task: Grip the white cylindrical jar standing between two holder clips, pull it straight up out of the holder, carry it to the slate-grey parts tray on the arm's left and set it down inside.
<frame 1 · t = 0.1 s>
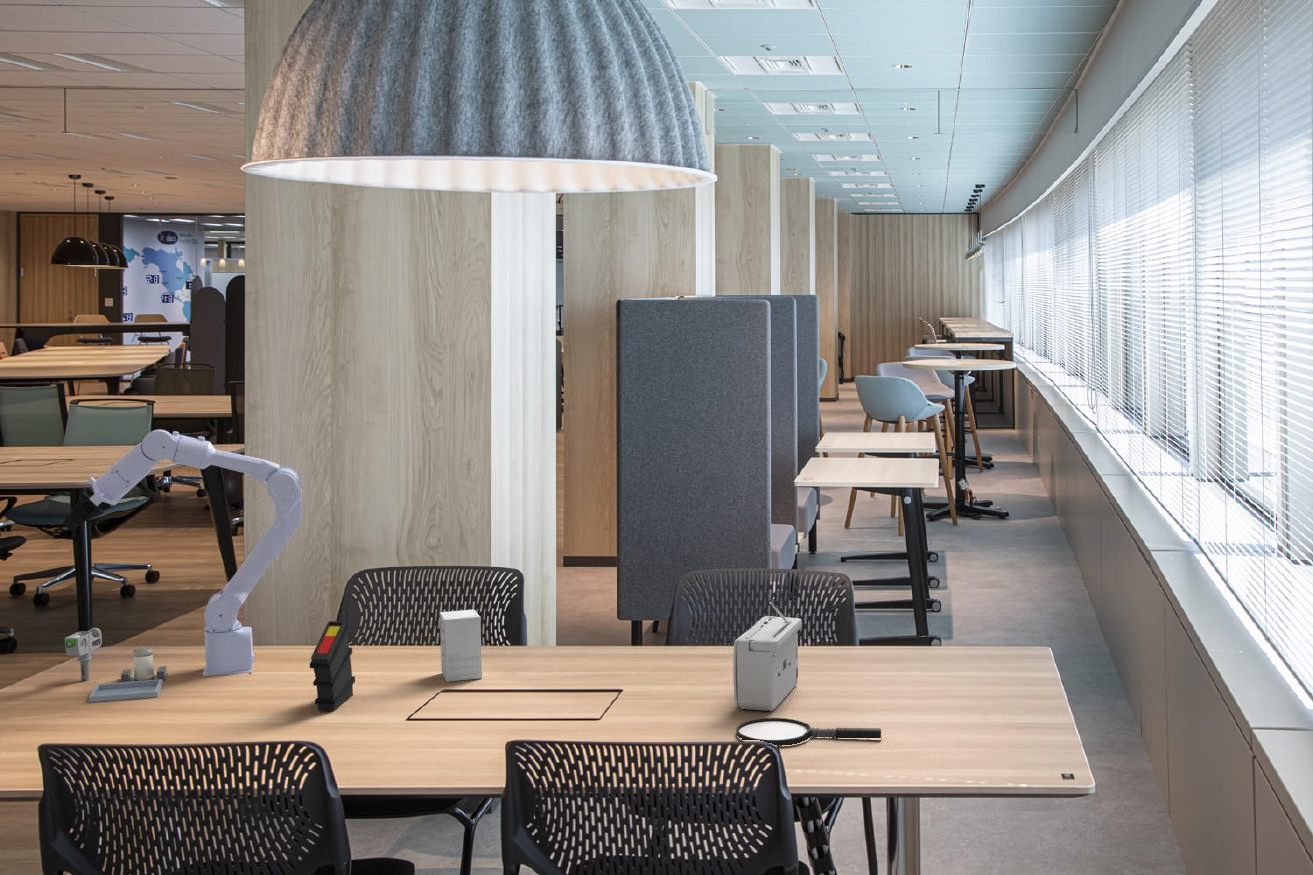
hand: (70, 523, 252), 32 cm above the table, tool tilted 50°, fingers open, 7 cm apart
magnifying glass: (808, 740, 214), on the table
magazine: (333, 706, 237), on the table
stereo radio cassette player: (769, 698, 238), on the table
holder: (144, 681, 255), on the table
tray: (126, 695, 245), on the table
white cylindrical jar: (144, 679, 255), resting on holder
supplement box: (461, 677, 256), on the table
mechanical component: (85, 683, 255), on the table
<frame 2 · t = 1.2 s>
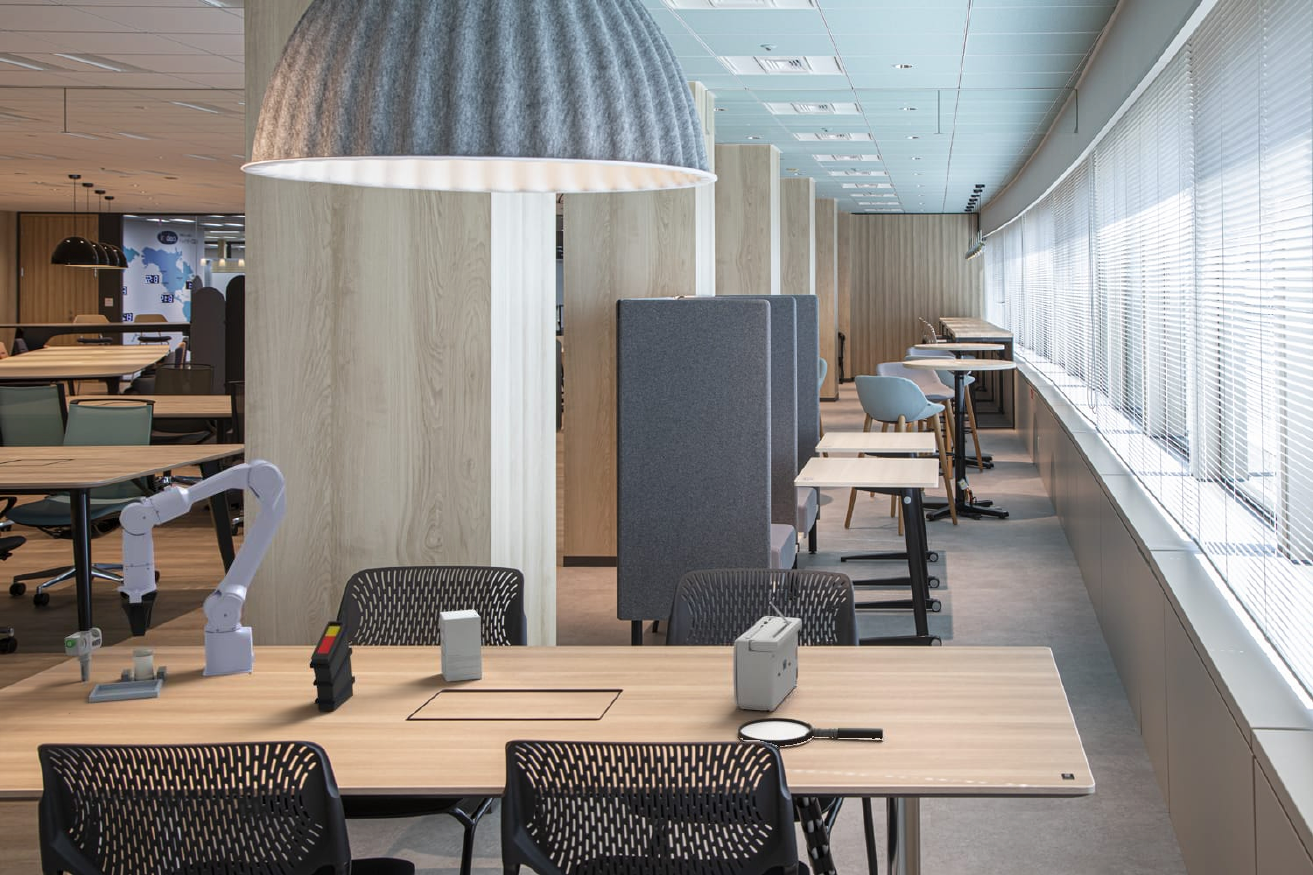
hand: (141, 631, 254), 10 cm above the table, tool pointing down, fingers open, 7 cm apart
nothing on the table moved.
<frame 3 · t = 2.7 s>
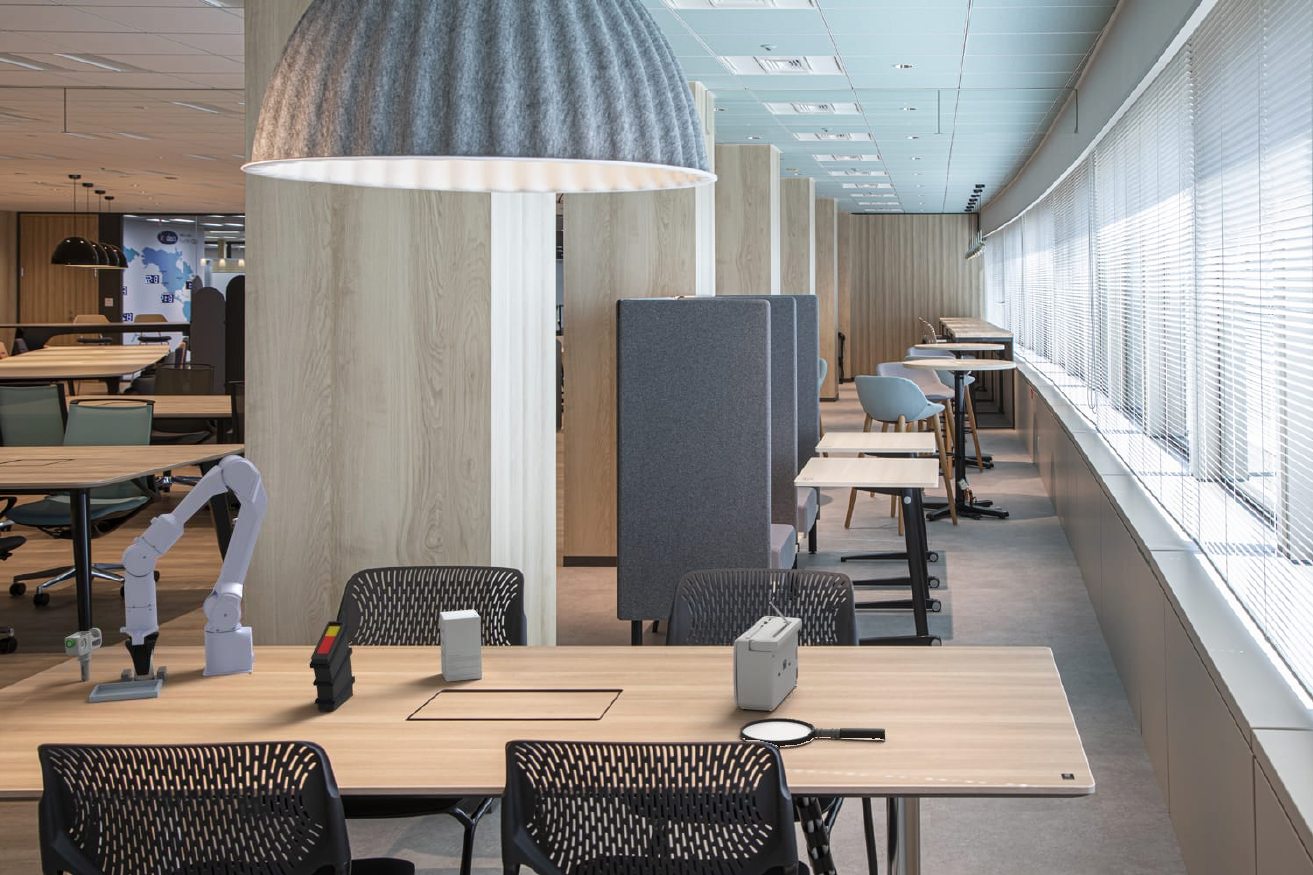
hand: (144, 672, 255), 2 cm above the table, tool pointing down, fingers closed on white cylindrical jar, 4 cm apart
white cylindrical jar: (144, 679, 255), resting on holder, touching gripper
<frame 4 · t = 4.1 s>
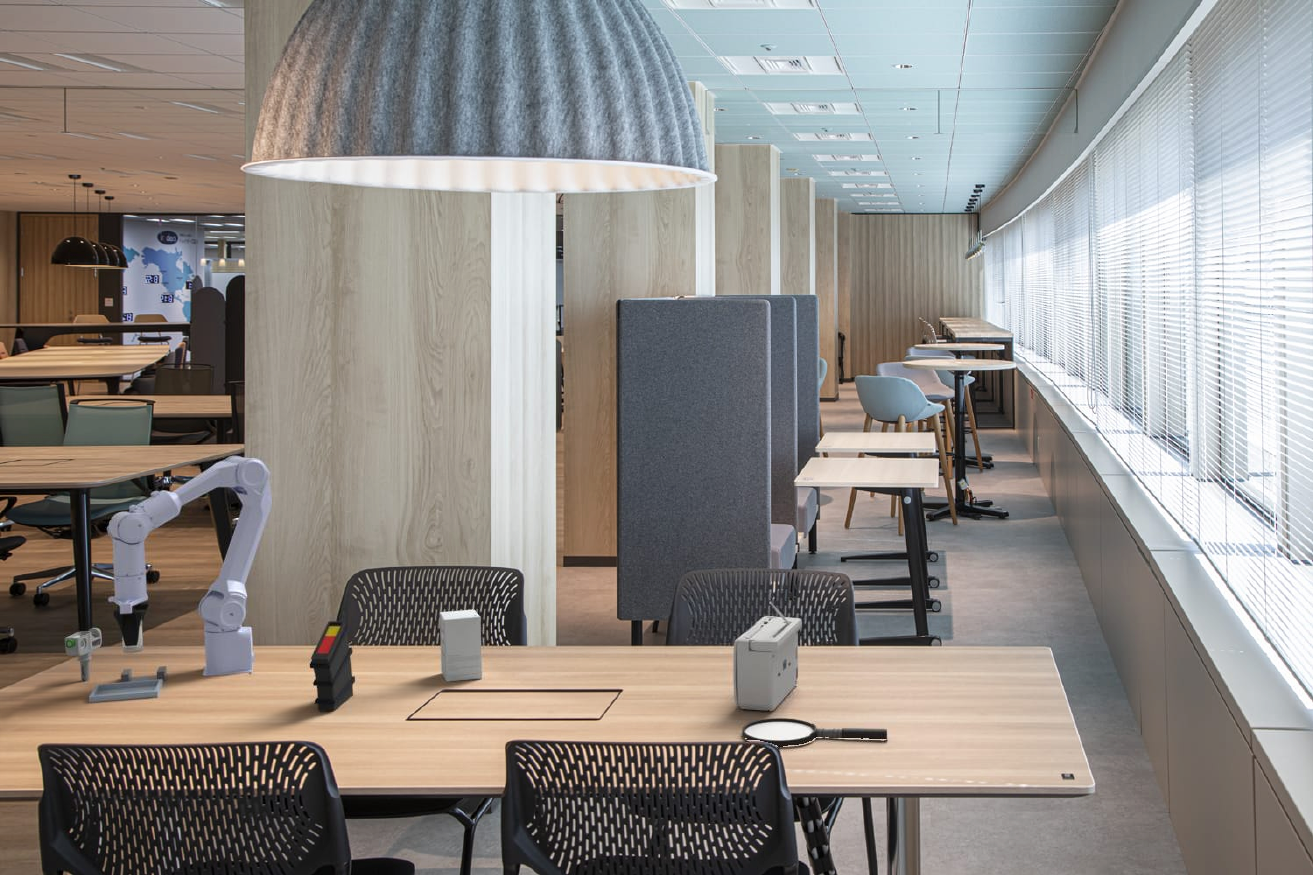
hand: (132, 642, 249), 9 cm above the table, tool pointing down, fingers closed on white cylindrical jar, 4 cm apart
white cylindrical jar: (132, 650, 249), point 7 cm above the table, touching gripper
when the fingers open (3 cm above the table, at t = 5.9 s): white cylindrical jar stays where it is, resting on tray.
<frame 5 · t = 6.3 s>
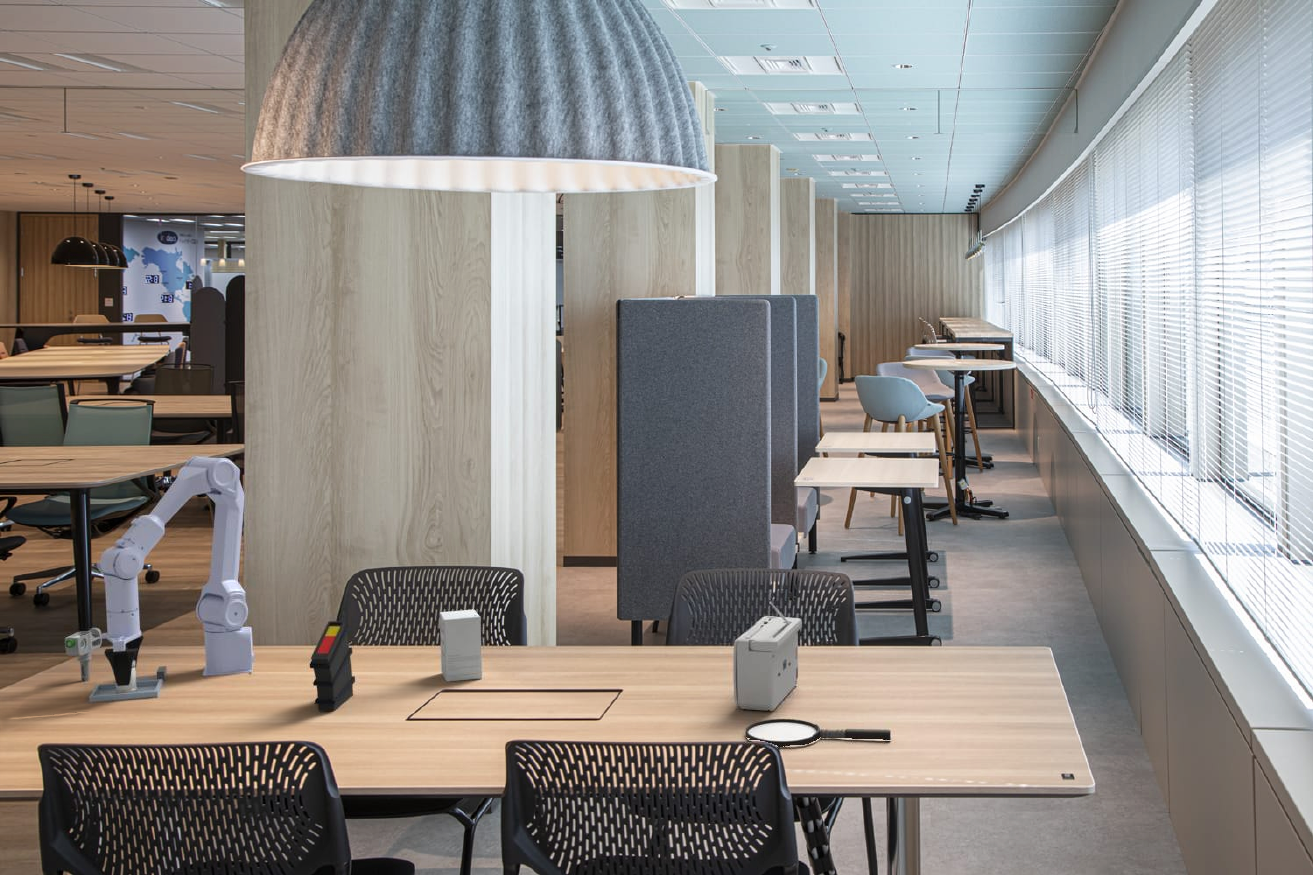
hand: (126, 680, 245), 3 cm above the table, tool pointing down, fingers open, 7 cm apart
white cylindrical jar: (126, 692, 245), point 1 cm above the table, touching tray
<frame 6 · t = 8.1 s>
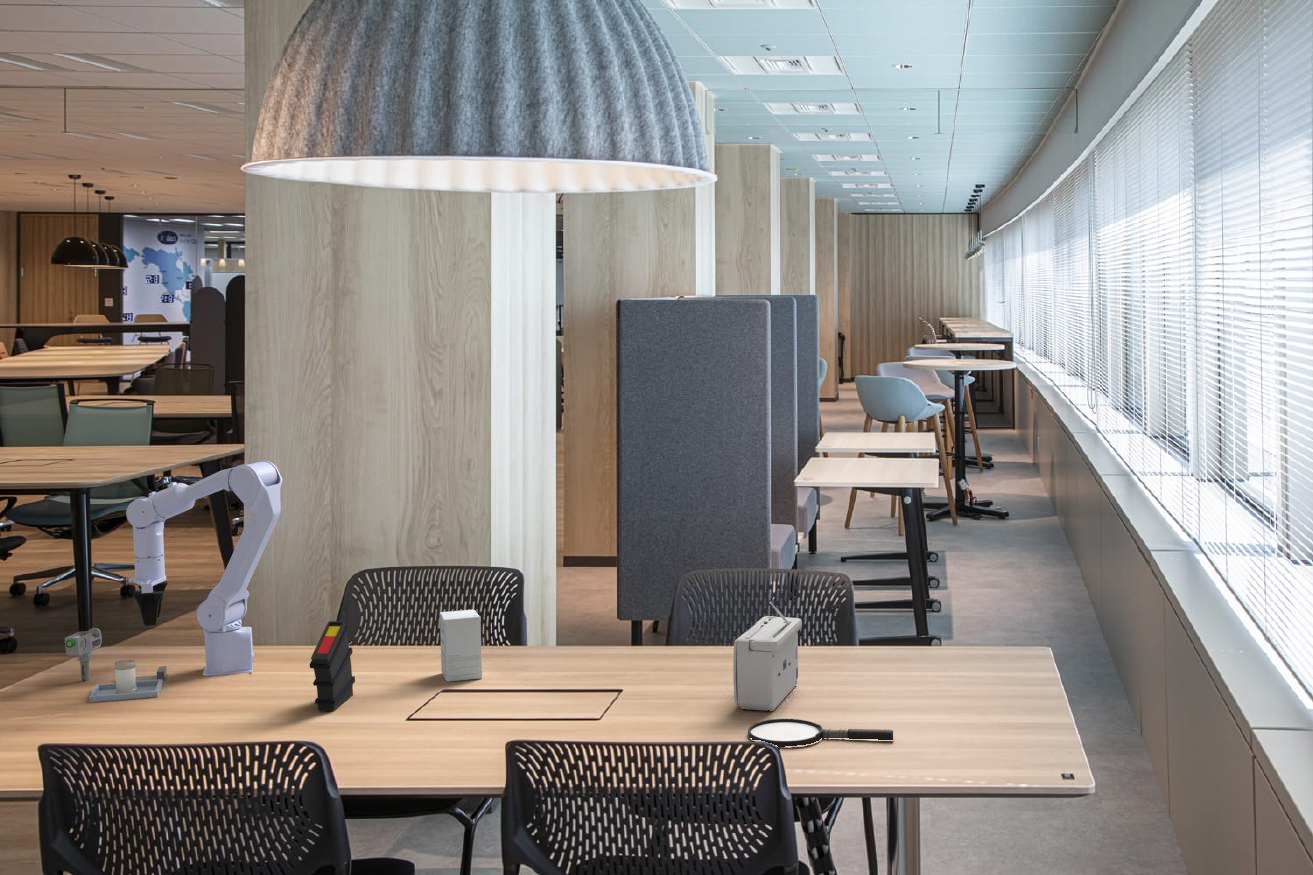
hand: (152, 621, 264), 10 cm above the table, tool pointing down, fingers open, 7 cm apart
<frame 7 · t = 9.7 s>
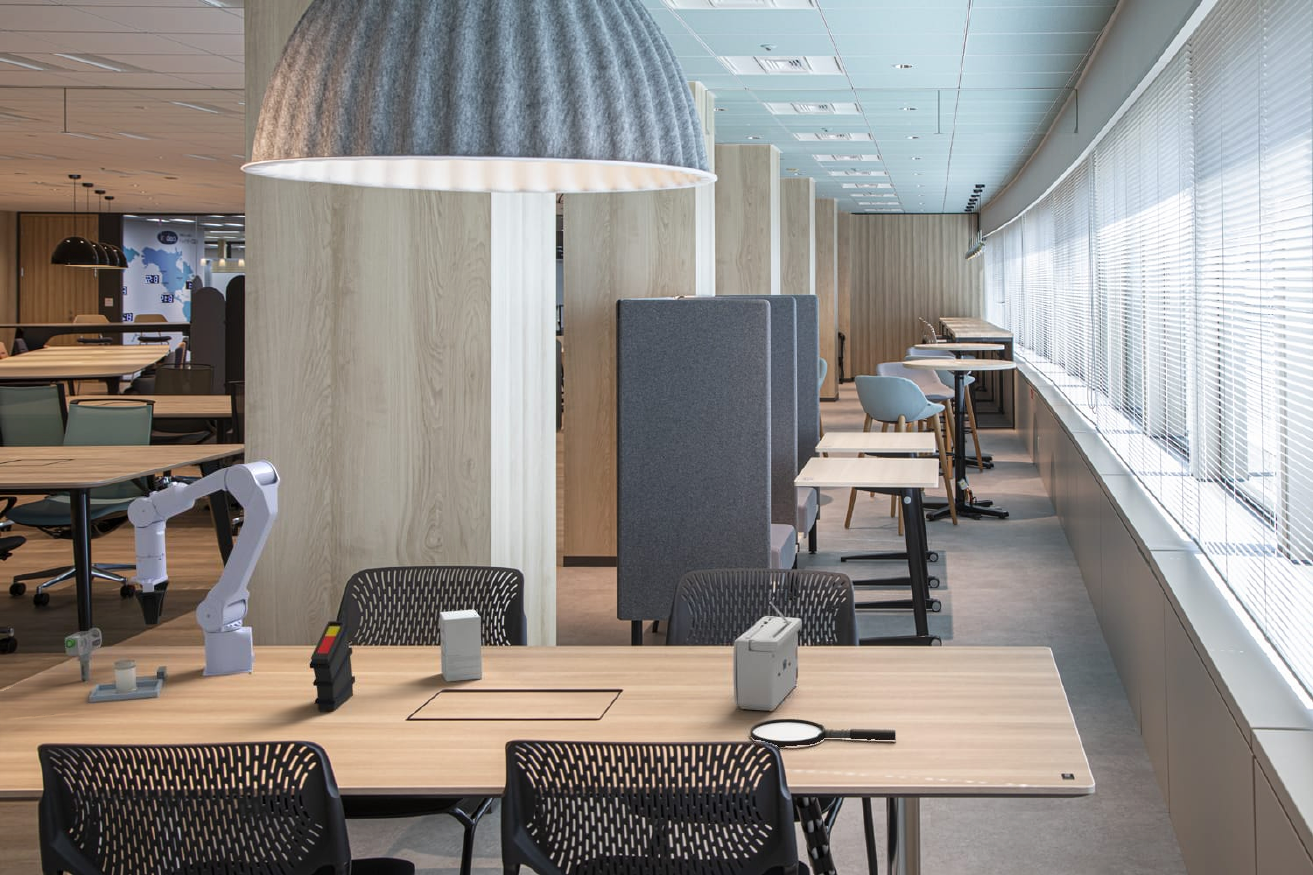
hand: (153, 620, 265), 10 cm above the table, tool pointing down, fingers open, 7 cm apart
at the end: white cylindrical jar inside the target area on the tray (0.1 cm from its centre), point 0.5 cm above the tray's base; the gripper is holding nothing; white cylindrical jar moved 10.2 cm from its start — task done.
